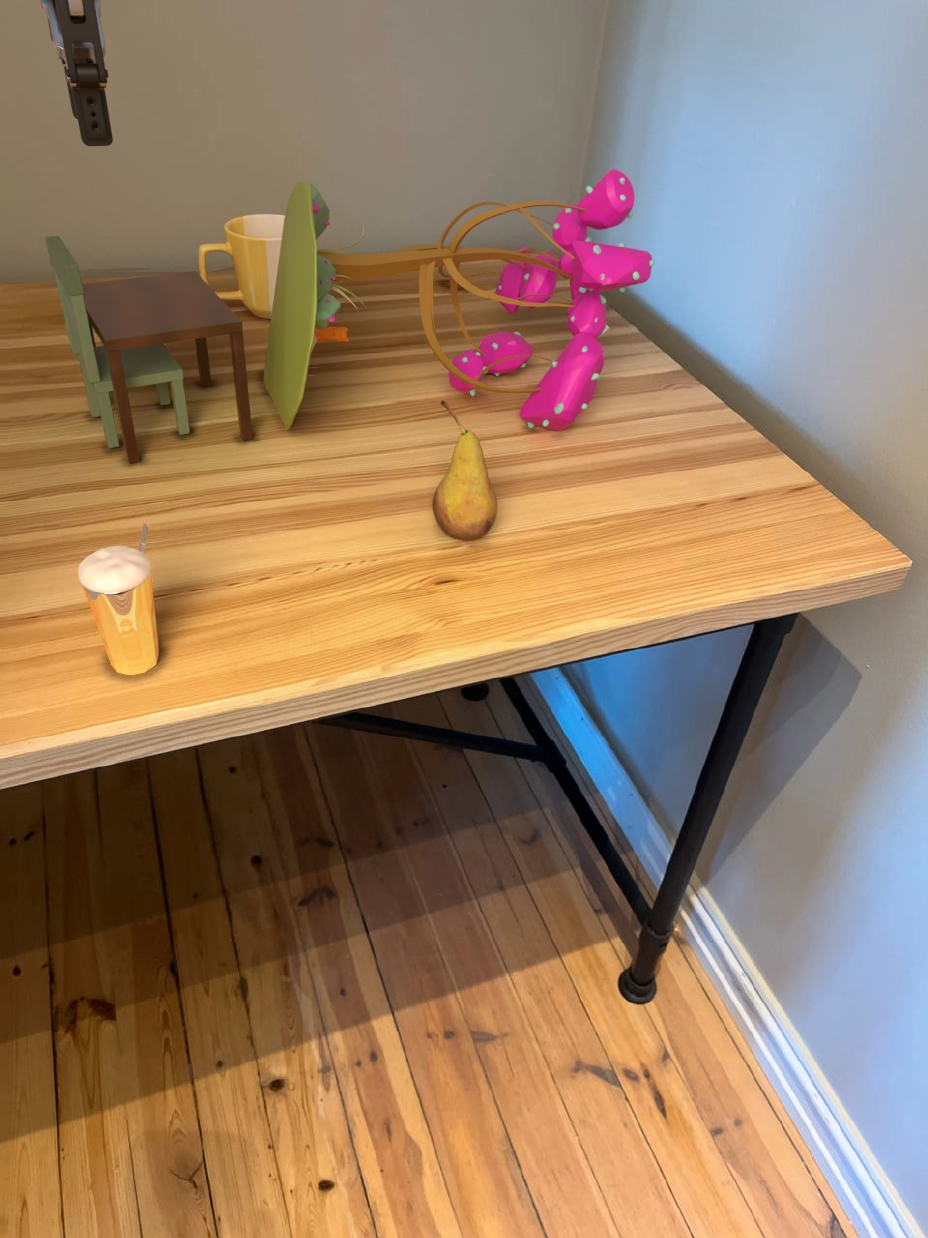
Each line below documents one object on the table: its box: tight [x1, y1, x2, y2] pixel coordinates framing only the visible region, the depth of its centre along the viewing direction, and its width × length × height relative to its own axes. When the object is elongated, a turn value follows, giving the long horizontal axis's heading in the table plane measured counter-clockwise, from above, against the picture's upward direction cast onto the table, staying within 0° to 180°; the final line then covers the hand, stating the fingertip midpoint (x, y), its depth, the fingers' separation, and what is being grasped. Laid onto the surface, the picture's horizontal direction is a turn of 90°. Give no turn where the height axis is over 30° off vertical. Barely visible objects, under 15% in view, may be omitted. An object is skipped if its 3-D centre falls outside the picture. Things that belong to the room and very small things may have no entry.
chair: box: [44, 235, 191, 449], centre depth 85 cm, size 8×8×17 cm
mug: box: [198, 213, 285, 320], centre depth 112 cm, size 14×10×10 cm
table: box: [82, 270, 254, 465], centre depth 89 cm, size 12×14×12 cm
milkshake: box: [77, 523, 160, 676], centre depth 62 cm, size 4×5×10 cm
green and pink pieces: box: [263, 168, 656, 431], centre depth 94 cm, size 30×28×35 cm
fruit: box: [431, 400, 498, 541], centre depth 76 cm, size 6×6×12 cm
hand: (92, 131), depth 72 cm, fingers open, 8 cm apart
